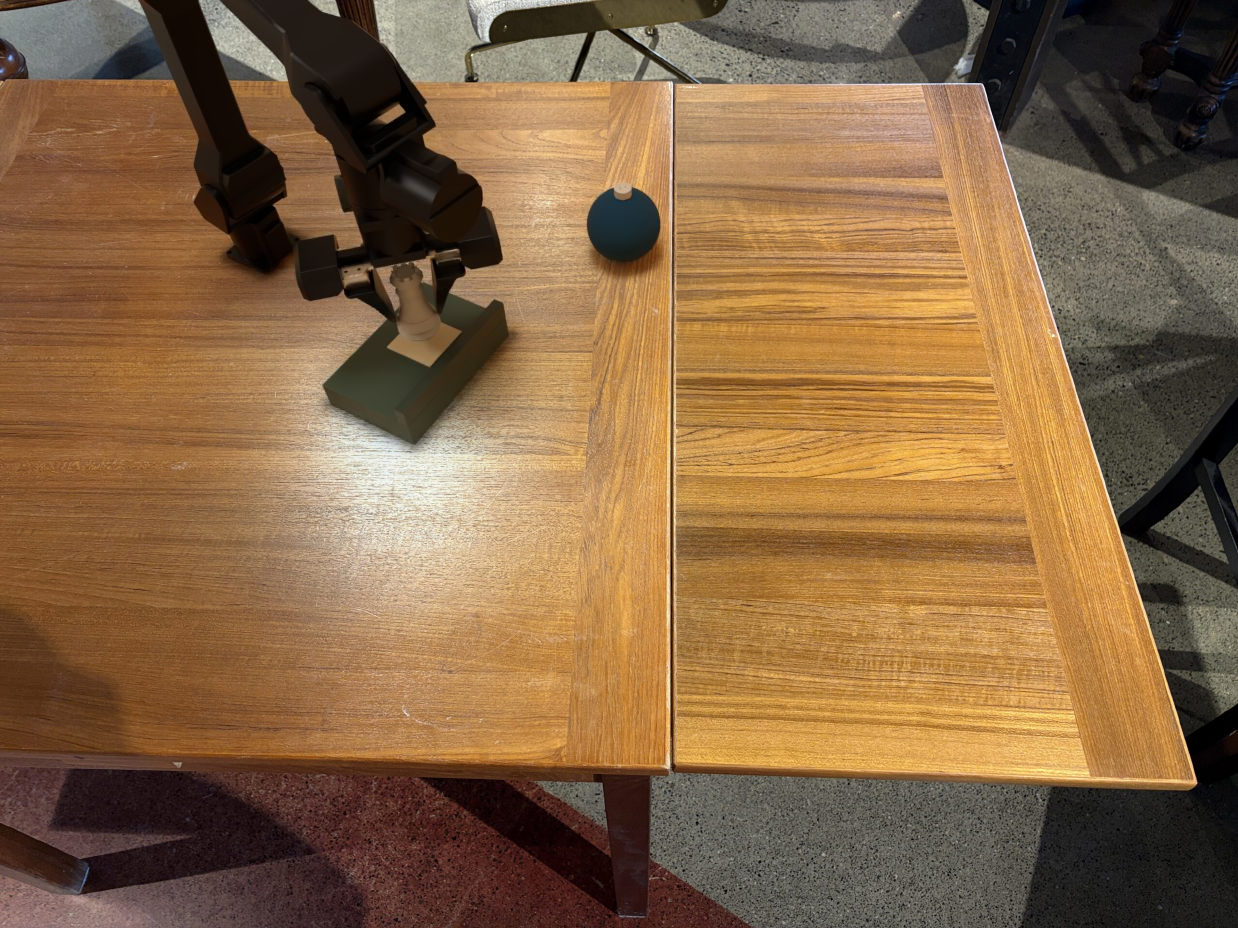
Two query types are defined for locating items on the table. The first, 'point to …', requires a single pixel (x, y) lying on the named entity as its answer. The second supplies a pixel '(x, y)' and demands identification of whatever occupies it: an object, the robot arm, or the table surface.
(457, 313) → the green platform
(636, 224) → the christmas ornament
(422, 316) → the rook chess piece
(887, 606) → the table surface
